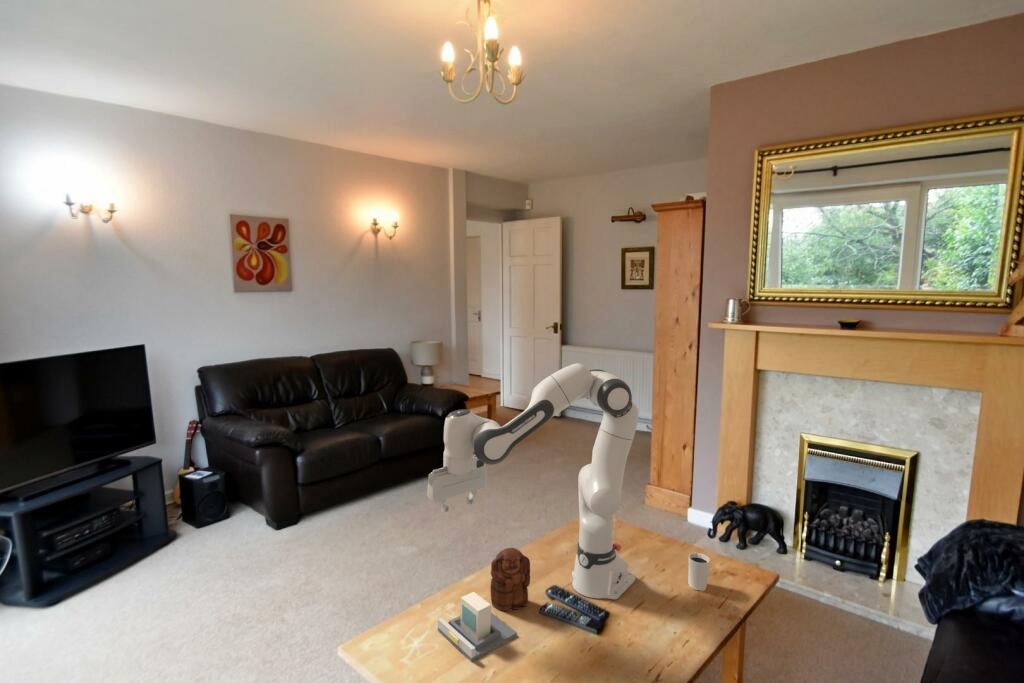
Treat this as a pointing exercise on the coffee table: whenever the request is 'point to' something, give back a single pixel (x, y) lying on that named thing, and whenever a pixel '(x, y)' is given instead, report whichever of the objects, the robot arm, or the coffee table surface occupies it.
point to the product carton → (475, 616)
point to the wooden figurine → (510, 580)
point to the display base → (469, 644)
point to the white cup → (698, 571)
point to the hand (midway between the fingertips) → (457, 507)
